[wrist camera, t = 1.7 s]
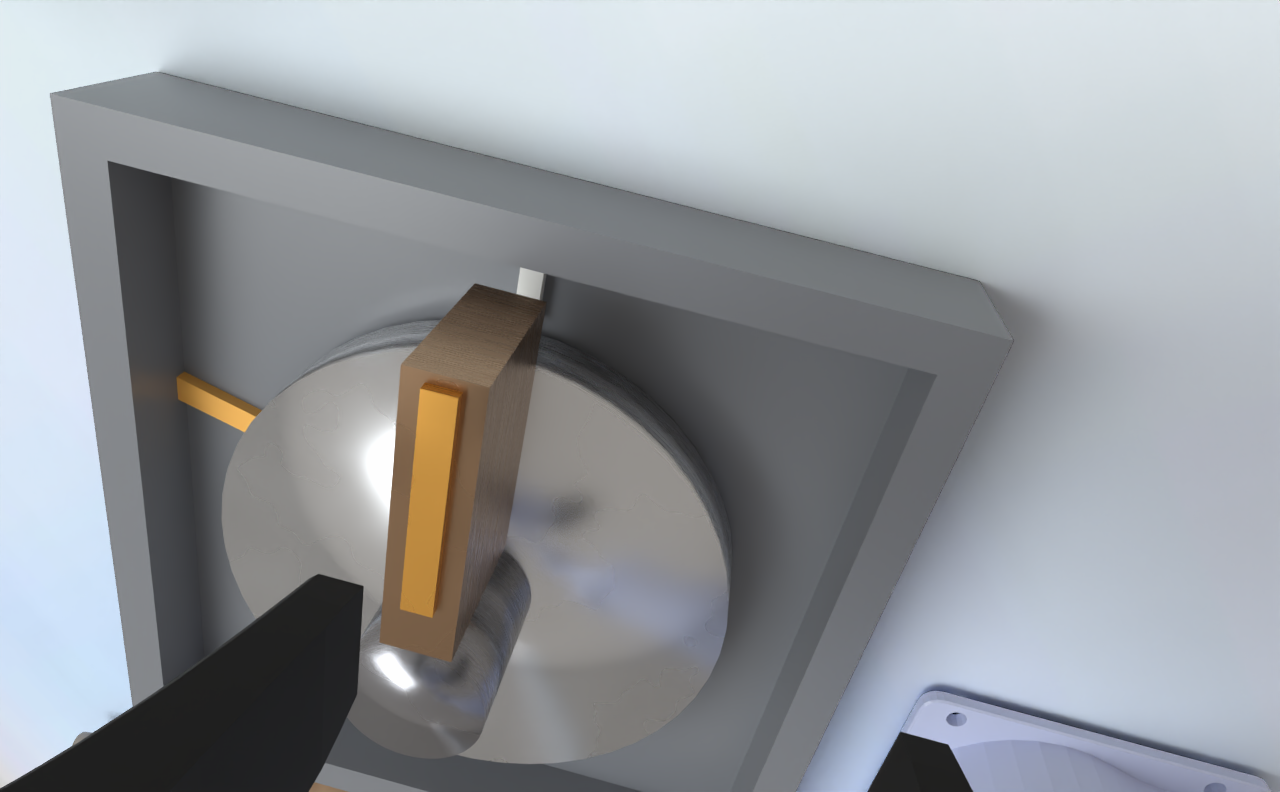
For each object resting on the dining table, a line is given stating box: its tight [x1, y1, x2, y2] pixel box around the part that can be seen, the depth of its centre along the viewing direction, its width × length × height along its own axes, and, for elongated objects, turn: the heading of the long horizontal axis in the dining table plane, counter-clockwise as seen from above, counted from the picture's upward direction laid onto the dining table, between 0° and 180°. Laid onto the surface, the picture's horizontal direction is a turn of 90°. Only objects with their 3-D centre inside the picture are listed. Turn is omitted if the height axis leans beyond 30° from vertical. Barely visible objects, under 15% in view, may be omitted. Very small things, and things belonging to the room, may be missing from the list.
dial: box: [221, 283, 733, 764], centre depth 18 cm, size 14×12×5 cm
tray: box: [50, 72, 1014, 792], centre depth 21 cm, size 18×18×3 cm
